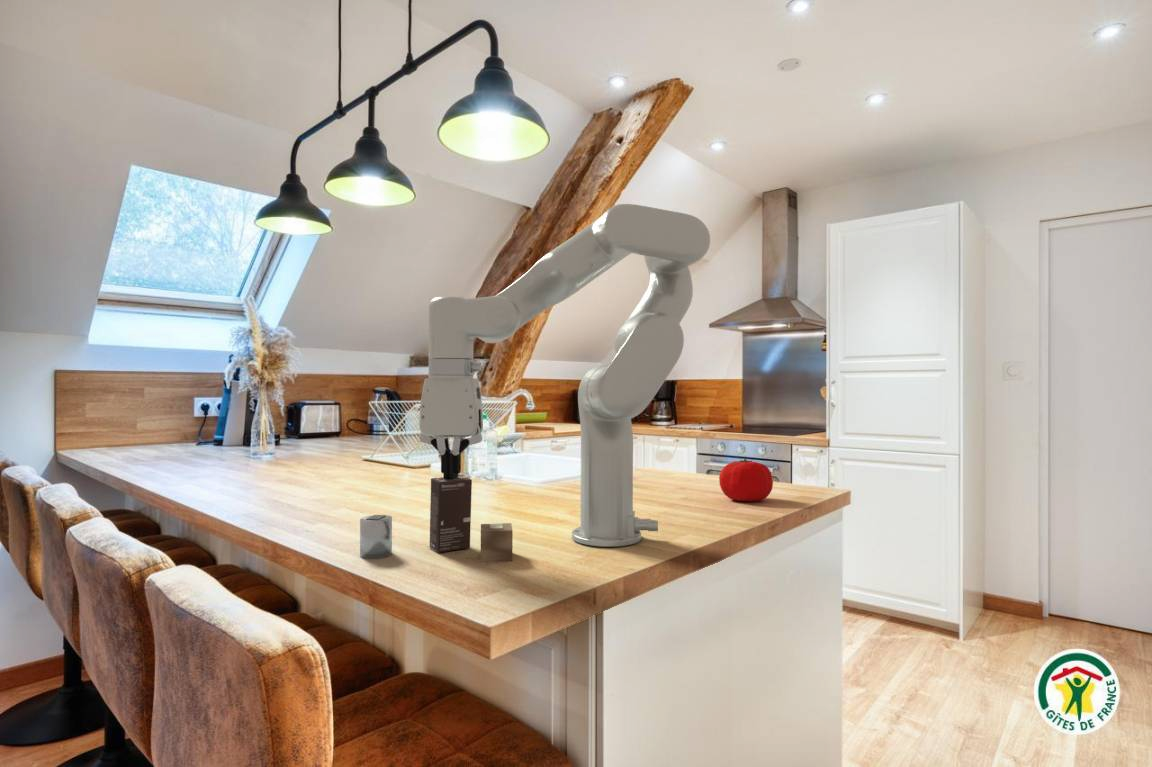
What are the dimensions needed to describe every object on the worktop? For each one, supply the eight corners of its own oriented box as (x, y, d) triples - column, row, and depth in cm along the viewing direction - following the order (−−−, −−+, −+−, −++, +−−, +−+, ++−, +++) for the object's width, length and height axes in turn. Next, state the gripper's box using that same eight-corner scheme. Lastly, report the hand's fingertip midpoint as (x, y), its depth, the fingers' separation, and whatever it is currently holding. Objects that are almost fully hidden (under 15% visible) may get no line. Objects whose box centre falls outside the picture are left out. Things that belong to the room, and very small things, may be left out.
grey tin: (396, 551, 103) (396, 514, 103) (384, 559, 98) (384, 520, 98) (368, 550, 104) (368, 513, 104) (354, 558, 99) (354, 519, 99)
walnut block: (511, 553, 103) (511, 521, 103) (512, 561, 98) (512, 529, 98) (481, 554, 102) (481, 522, 102) (480, 562, 97) (480, 530, 97)
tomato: (778, 505, 143) (779, 461, 143) (724, 504, 144) (724, 460, 144) (764, 496, 155) (764, 455, 155) (713, 495, 155) (714, 455, 155)
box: (438, 554, 101) (438, 481, 101) (429, 548, 105) (429, 477, 105) (472, 549, 105) (472, 478, 105) (462, 543, 109) (462, 475, 108)
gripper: (499, 370, 108) (499, 475, 108) (417, 370, 109) (416, 473, 110) (488, 369, 100) (488, 482, 100) (400, 369, 102) (400, 480, 102)
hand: (450, 477), depth 105 cm, fingers closed
